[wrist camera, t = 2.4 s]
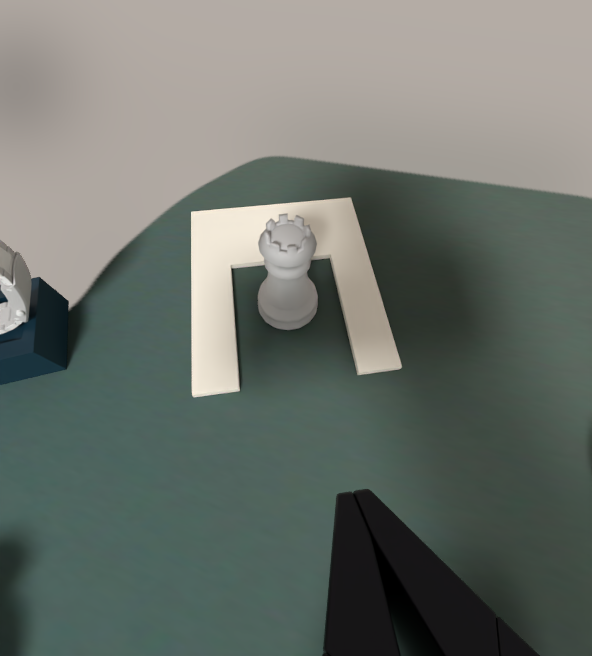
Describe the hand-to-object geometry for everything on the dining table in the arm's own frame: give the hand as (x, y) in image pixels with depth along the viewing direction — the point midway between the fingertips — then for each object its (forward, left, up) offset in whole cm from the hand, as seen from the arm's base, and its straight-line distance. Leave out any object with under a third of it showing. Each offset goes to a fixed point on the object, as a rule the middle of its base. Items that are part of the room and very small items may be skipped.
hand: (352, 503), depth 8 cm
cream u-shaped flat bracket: (+10, +11, -12) cm, 19 cm away
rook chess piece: (+8, +9, -12) cm, 17 cm away
